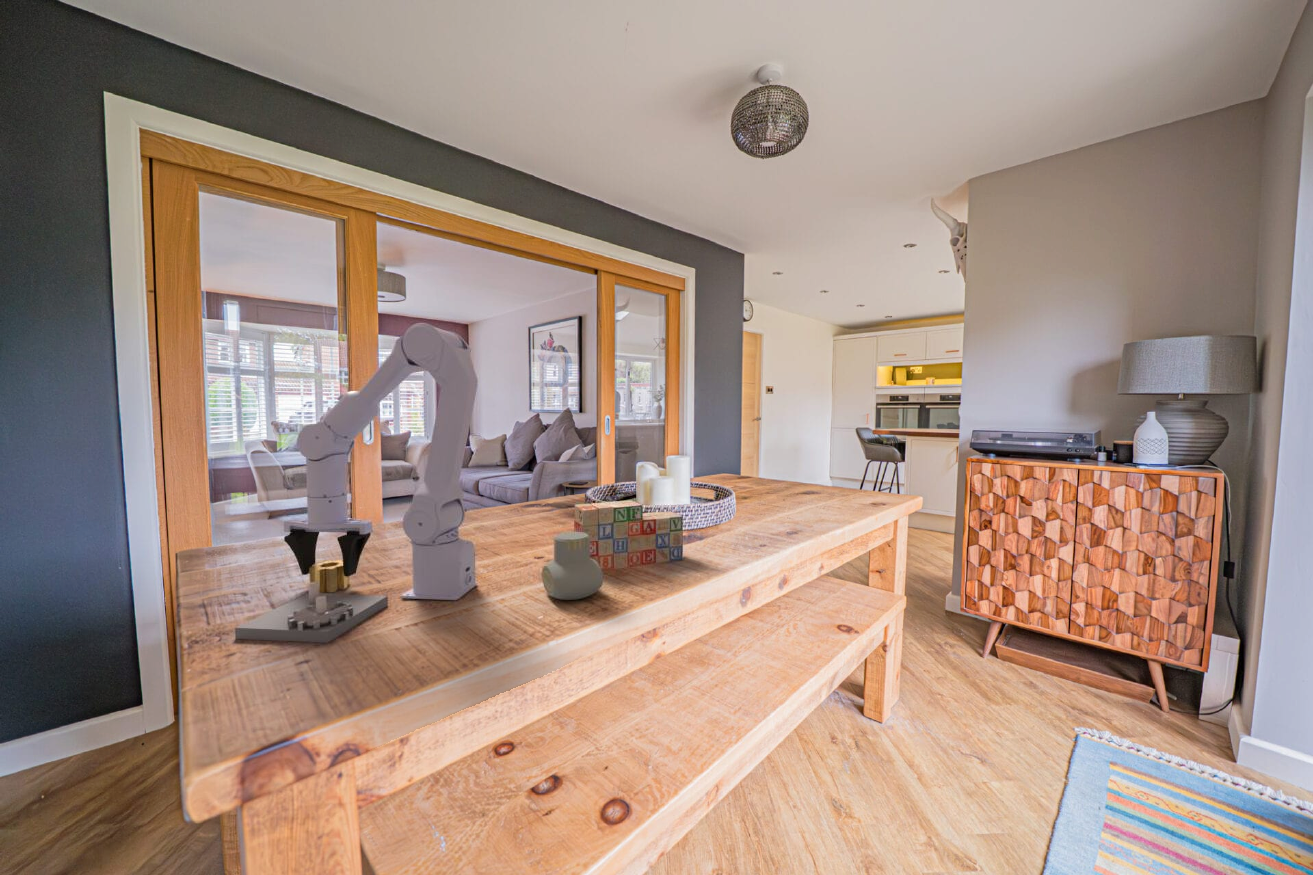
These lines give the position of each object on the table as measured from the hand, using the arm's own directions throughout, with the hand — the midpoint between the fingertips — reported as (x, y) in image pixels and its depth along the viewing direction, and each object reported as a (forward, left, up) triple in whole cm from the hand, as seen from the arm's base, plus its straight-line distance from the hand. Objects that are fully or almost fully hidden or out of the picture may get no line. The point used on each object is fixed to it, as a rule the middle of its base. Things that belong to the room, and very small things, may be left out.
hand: (329, 573), depth 87 cm
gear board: (-8, +13, -2) cm, 16 cm away
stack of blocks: (-49, -20, -3) cm, 53 cm away
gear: (-11, +16, -1) cm, 19 cm away
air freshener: (-42, -1, -3) cm, 42 cm away
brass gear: (0, 0, -2) cm, 2 cm away
